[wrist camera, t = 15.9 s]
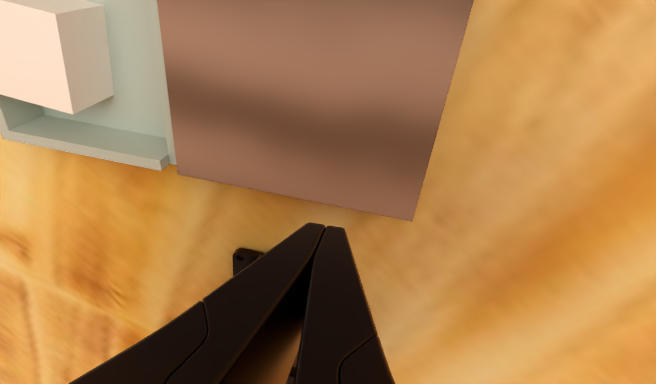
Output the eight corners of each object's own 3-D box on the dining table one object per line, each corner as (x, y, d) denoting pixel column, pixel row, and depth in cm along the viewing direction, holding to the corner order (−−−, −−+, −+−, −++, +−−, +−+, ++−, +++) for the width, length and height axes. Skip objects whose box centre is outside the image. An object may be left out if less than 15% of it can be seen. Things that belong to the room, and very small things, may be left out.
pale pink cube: (-13, 90, 19) (37, 74, 21) (73, 114, 19) (114, 94, 21) (-44, -12, 17) (17, -18, 19) (55, 14, 16) (103, 5, 19)
